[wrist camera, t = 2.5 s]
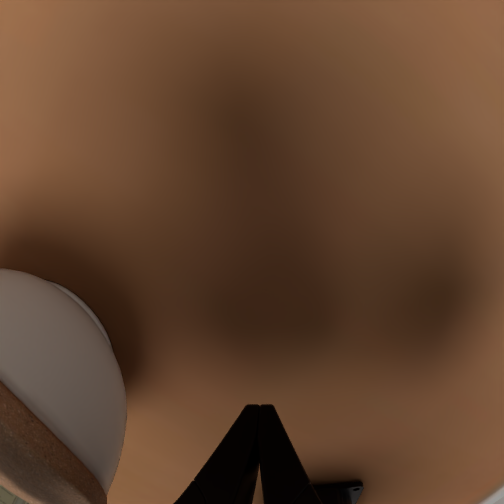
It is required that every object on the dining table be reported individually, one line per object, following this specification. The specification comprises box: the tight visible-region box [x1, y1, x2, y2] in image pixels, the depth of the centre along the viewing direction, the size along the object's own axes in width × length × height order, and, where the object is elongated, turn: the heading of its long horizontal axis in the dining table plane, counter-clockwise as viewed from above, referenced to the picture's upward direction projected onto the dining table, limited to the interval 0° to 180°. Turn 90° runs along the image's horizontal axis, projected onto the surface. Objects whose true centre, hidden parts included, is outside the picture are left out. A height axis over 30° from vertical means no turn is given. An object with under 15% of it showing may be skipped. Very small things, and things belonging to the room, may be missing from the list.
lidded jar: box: [0, 268, 127, 504], centre depth 9 cm, size 11×11×9 cm
